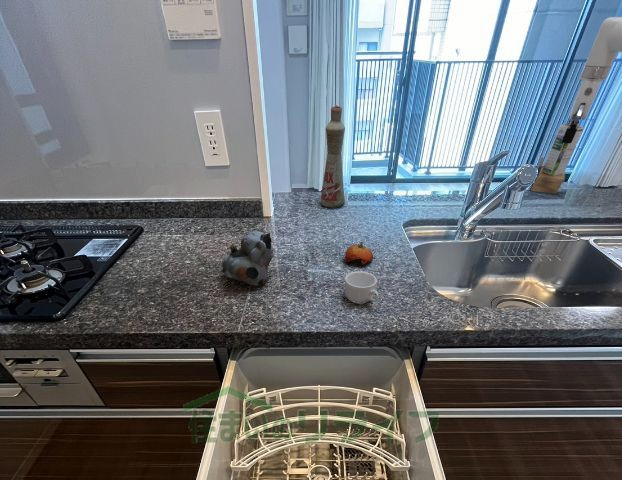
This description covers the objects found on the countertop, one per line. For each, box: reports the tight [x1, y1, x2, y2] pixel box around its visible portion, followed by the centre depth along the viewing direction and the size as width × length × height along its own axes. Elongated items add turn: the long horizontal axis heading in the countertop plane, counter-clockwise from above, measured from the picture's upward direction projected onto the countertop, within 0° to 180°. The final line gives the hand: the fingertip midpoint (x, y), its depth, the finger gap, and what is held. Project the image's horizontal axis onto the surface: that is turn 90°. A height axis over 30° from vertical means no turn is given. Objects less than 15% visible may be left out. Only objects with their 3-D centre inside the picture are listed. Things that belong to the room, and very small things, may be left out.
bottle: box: [320, 104, 346, 209], centre depth 122 cm, size 9×9×28 cm
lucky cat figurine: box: [220, 230, 275, 287], centre depth 95 cm, size 15×12×14 cm
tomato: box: [344, 241, 374, 266], centre depth 103 cm, size 8×7×7 cm
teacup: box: [344, 270, 380, 305], centre depth 89 cm, size 10×8×5 cm
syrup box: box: [542, 123, 585, 176], centre depth 133 cm, size 6×6×14 cm
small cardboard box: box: [530, 157, 566, 195], centre depth 140 cm, size 10×12×8 cm
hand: (566, 139), depth 131 cm, fingers closed on syrup box, 8 cm apart
